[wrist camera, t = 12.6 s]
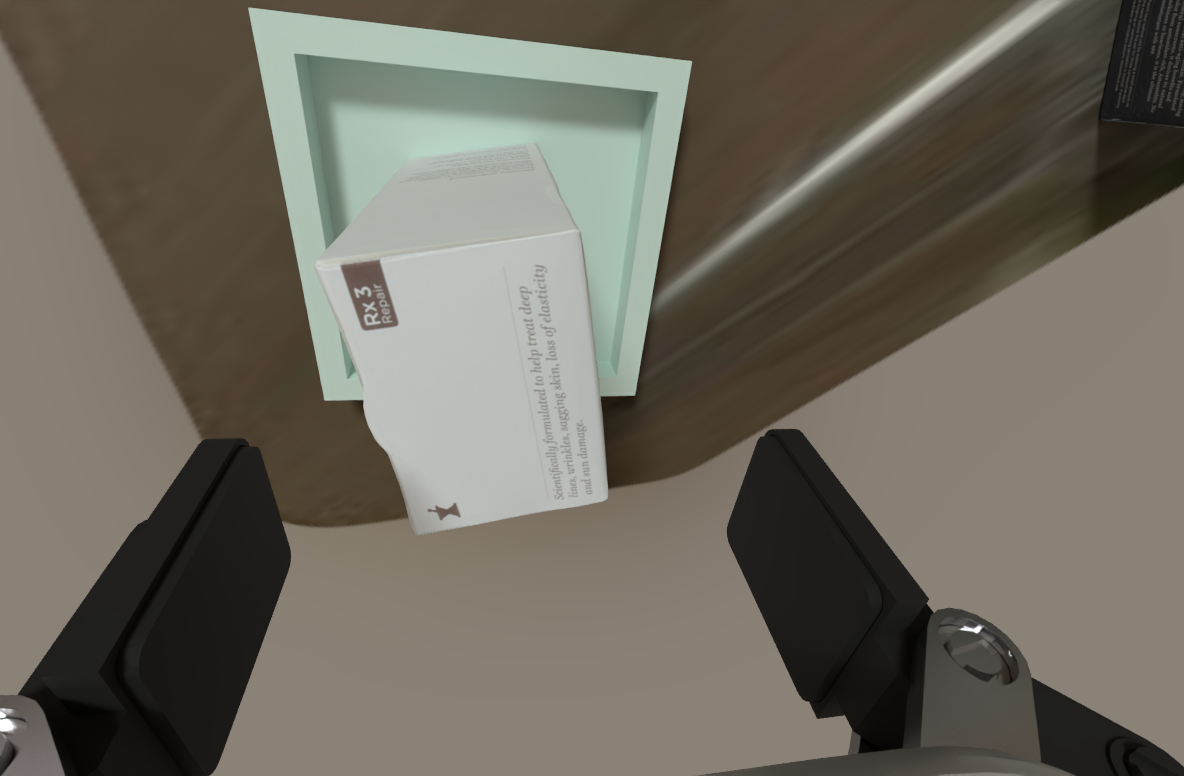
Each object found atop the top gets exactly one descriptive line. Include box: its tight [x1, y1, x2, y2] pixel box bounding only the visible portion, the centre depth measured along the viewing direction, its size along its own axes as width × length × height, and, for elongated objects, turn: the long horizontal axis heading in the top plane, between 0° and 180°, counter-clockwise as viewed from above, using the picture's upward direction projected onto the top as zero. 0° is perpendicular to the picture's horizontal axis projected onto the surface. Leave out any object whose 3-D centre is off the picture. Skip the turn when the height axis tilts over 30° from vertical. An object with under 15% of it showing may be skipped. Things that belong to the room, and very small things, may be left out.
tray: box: [248, 8, 692, 400], centre depth 25 cm, size 16×16×2 cm
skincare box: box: [314, 142, 608, 536], centre depth 19 cm, size 8×6×15 cm
